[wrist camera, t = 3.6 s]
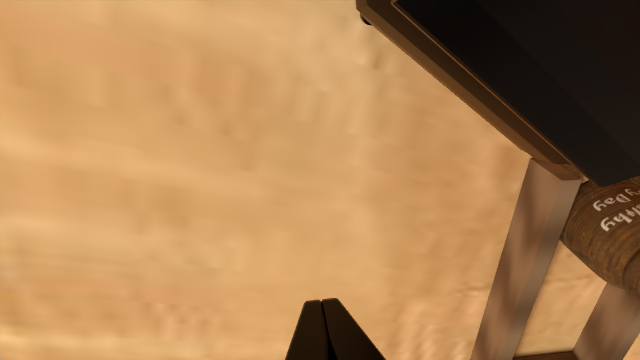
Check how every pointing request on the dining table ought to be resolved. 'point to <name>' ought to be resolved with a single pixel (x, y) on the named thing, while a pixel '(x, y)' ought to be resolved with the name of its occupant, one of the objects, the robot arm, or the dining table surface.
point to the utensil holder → (607, 233)
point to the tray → (530, 268)
